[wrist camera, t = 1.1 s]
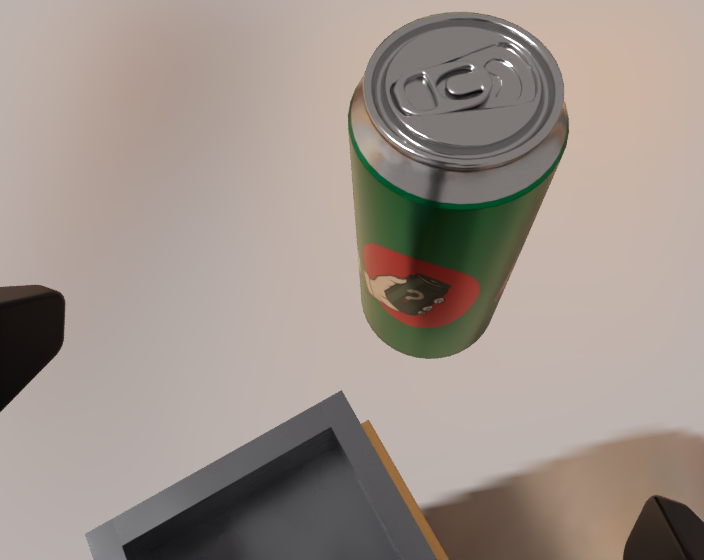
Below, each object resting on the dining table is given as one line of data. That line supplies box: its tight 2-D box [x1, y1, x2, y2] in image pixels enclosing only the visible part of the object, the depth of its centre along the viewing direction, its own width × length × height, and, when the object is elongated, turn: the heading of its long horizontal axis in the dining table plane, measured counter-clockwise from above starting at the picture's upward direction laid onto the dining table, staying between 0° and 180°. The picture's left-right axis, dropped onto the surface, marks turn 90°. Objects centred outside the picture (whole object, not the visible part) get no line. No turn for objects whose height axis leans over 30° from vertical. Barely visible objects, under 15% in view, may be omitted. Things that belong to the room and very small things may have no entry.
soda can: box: [348, 12, 569, 359], centre depth 19 cm, size 5×5×12 cm
